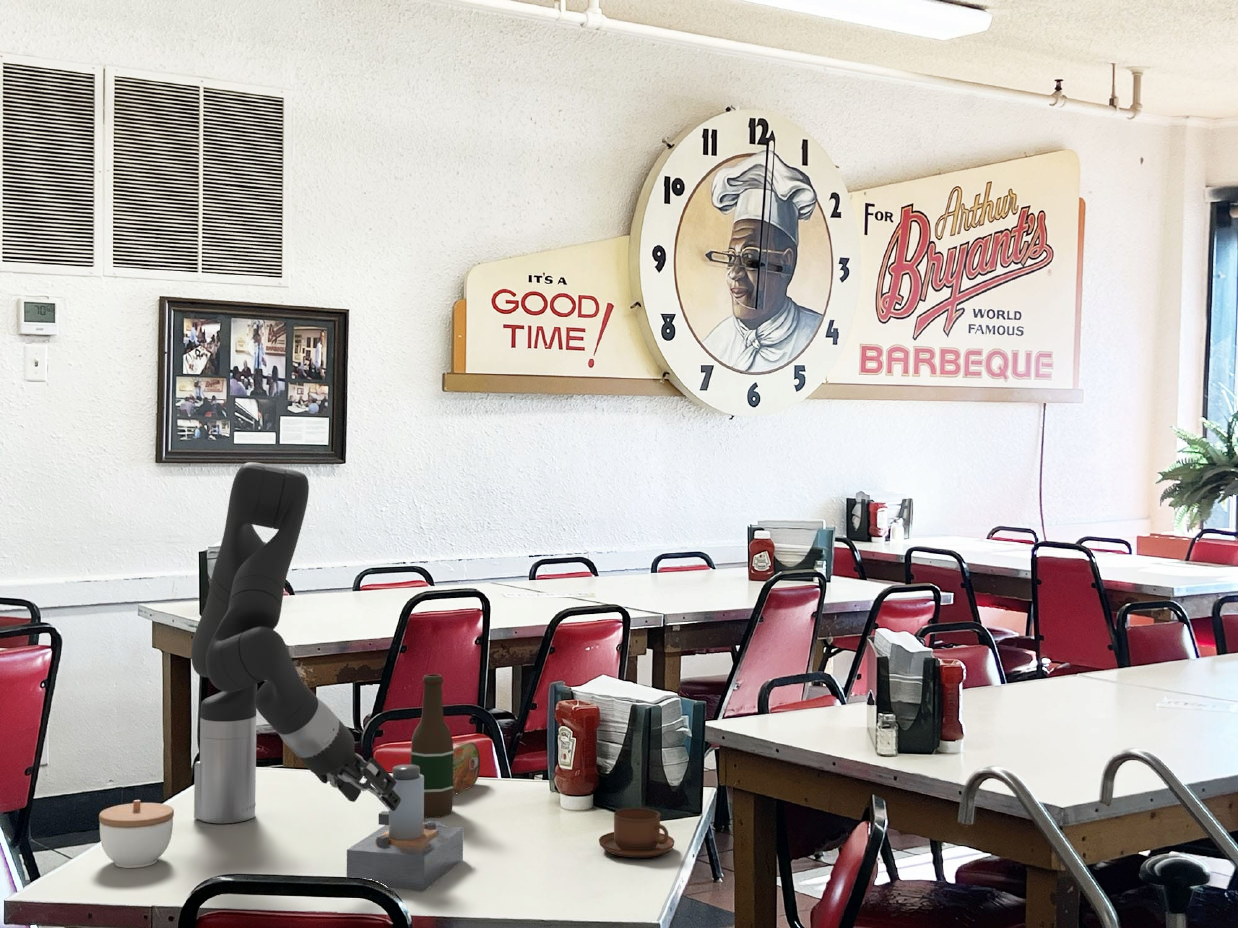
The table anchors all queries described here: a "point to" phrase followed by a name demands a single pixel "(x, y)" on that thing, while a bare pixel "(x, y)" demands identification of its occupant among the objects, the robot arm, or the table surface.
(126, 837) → the lidded jar
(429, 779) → the beer bottle
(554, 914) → the table surface
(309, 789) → the table surface
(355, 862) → the grey block with pad
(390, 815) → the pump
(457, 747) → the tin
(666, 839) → the cup and saucer
